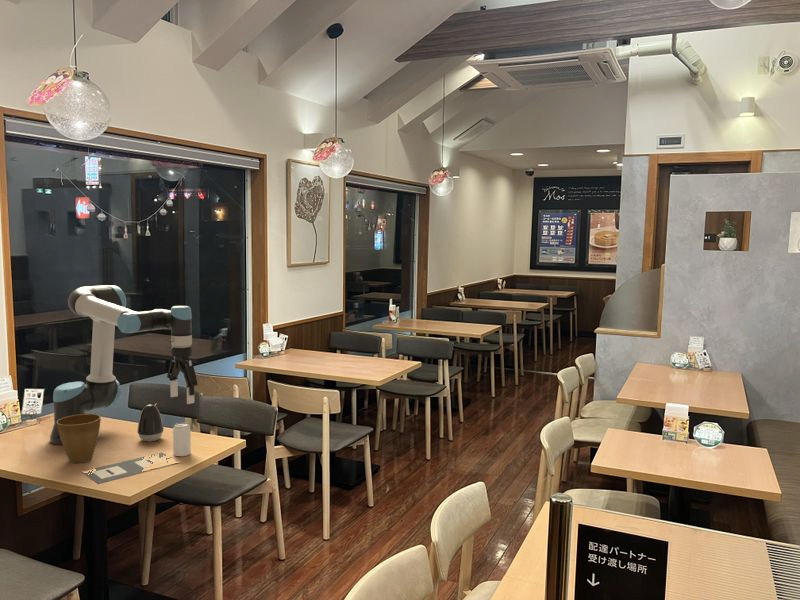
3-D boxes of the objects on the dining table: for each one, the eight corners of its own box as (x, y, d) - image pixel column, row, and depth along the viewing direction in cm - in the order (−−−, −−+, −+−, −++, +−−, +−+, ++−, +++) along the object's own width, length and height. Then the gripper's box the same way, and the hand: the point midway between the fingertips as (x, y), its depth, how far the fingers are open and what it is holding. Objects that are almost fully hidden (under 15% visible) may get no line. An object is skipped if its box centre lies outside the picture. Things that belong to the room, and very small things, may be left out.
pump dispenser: (168, 436, 266) (168, 402, 265) (155, 444, 256) (154, 408, 255) (146, 435, 268) (146, 400, 267) (132, 442, 258) (131, 406, 256)
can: (185, 457, 241) (184, 427, 239) (169, 456, 242) (169, 426, 241) (193, 452, 247) (193, 422, 246) (179, 450, 248) (178, 421, 247)
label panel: (81, 471, 225) (81, 471, 224) (161, 452, 246) (161, 452, 246) (98, 483, 213) (98, 483, 213) (180, 462, 235) (180, 462, 235)
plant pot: (85, 451, 246) (84, 411, 245) (110, 457, 240) (109, 417, 238) (49, 462, 233) (47, 420, 232) (74, 469, 226) (73, 426, 225)
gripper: (157, 342, 246) (158, 395, 248) (187, 351, 229) (188, 407, 231) (175, 341, 252) (176, 392, 253) (206, 349, 234) (207, 404, 236)
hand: (182, 400), depth 242 cm, fingers open, 13 cm apart
